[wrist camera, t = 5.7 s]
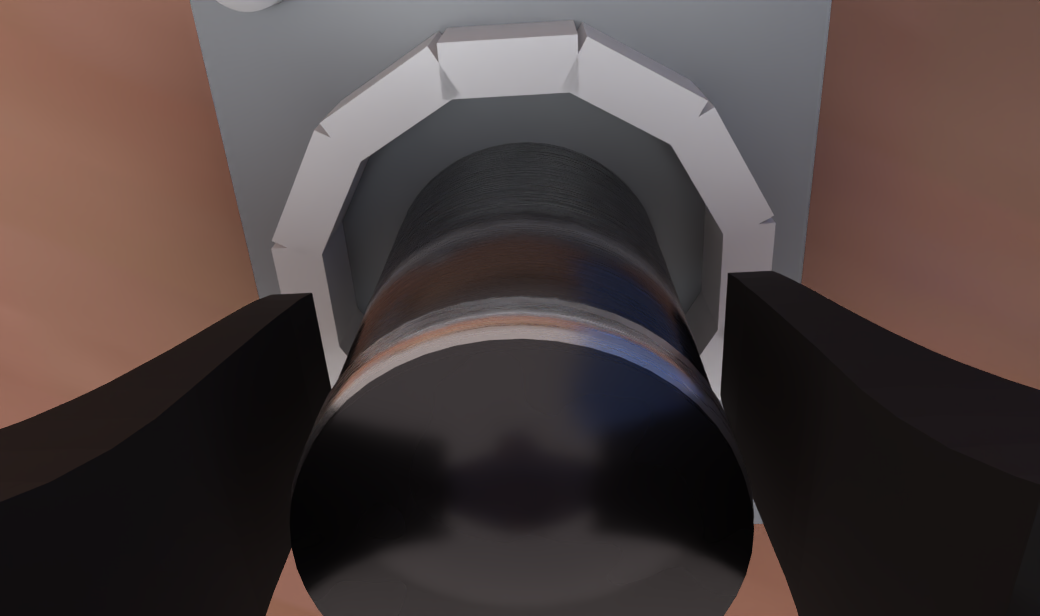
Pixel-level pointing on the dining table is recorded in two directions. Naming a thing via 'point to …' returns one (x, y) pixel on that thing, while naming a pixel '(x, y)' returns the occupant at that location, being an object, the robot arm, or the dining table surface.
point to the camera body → (515, 128)
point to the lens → (523, 416)
